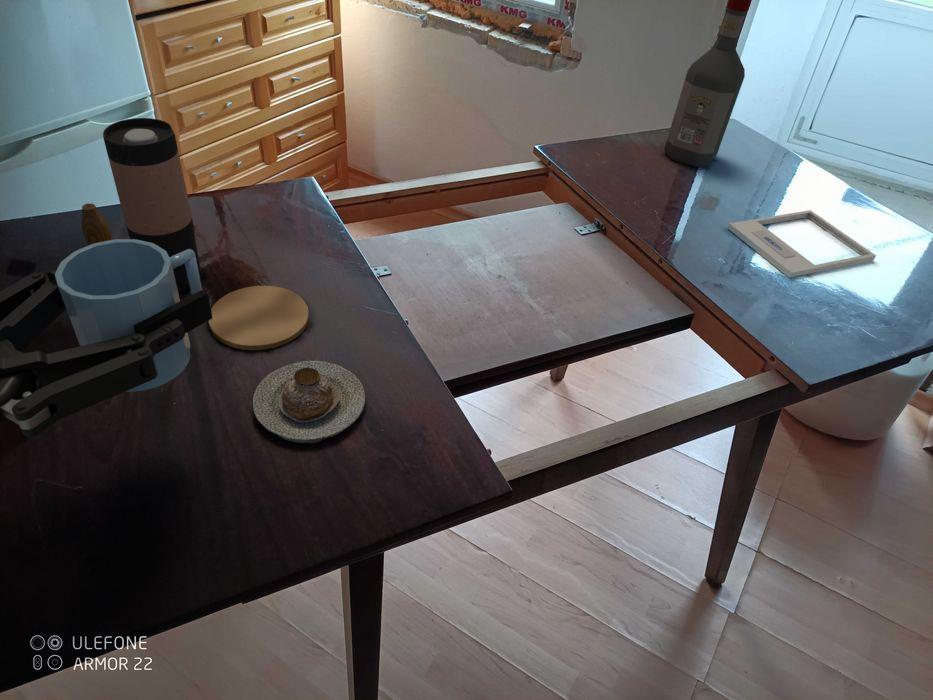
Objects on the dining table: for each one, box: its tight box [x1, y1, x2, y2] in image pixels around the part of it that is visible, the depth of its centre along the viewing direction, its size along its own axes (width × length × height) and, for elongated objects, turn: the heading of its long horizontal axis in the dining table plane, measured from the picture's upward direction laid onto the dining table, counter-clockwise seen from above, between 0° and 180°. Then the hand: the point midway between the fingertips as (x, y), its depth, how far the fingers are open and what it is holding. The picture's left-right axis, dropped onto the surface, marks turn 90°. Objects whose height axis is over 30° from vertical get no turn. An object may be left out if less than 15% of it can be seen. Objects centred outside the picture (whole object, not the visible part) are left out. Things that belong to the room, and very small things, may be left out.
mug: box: [55, 238, 203, 393], centre depth 59 cm, size 11×8×10 cm
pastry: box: [252, 360, 366, 444], centre depth 74 cm, size 12×12×5 cm
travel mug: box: [102, 117, 201, 292], centre depth 84 cm, size 8×8×20 cm
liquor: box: [663, 0, 753, 168], centre depth 125 cm, size 9×9×30 cm
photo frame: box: [727, 209, 877, 279], centre depth 111 cm, size 15×1×18 cm
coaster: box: [207, 285, 310, 351], centre depth 85 cm, size 12×12×1 cm
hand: (173, 282), depth 61 cm, fingers closed on mug, 8 cm apart
